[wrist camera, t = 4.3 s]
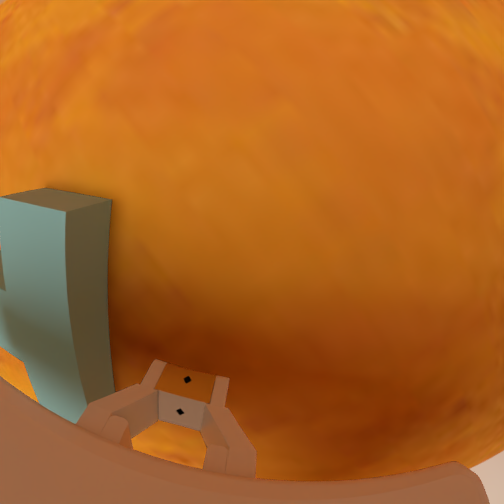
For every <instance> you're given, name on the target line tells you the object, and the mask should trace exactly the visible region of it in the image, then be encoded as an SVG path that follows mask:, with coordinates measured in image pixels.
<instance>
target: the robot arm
mask: <svg viewBox="0 0 504 504" xmlns="http://www.w3.org/2000/svg"><path fill="white" fill-rule="evenodd" d="M215 379H216V380H215ZM229 380H230V379H229V378H228V377H223V376H218V375H217V376H216V375H213V374H209V373H204V372H200V371H196V370H192V369H188V368H185V367H181V366H178V365H175V364H171V363H167V362H164V361H161V360H158V359H155V360H154V361H153V362H152V364H151V366H150V368H149V369H148V371H147V373H146V375H145V377H144V378H143V380H142V382H141V384H137V383H136V384H134V385H132V386H130V387H127V388H125V389H123V390H120V391H118V392H116V393H113V394H111V395H108V396H106V397H103V398H101V399H98V400H96V401H93V402H91V403H89V405H88V406H87V408H86V409H85V411H84V412H83V414H82V415H81V417H80V418H79V420H78V421H77V423H76V424H74V423H72V422H70V421H68V420H67V419H65V418H63V417H61V416H59V415H58V414H56V413H54V412H52V411H51V410H49V409H47V408H46V407H44V406H42V405H41V404H39V403H38V402H36V401H34V400H33V399H31V398H30V397H28V396H27V395H25V394H24V393H22V392H21V391H19V390H18V389H17V388H15V387H14V386H12V385H11V384H10V383H8V382H7V381H6V380H4V379H3V378H2V377H1V376H0V504H490V503H489V500H488V497H487V494H486V492H485V489H484V486H483V484H482V482H481V480H480V478H479V477H478V475H476V474H475V473H474V472H472V471H471V470H470V469H468V468H467V467H465V466H464V465H462V464H460V463H458V462H456V461H451V462H447V463H443V464H440V465H436V466H432V467H428V468H424V469H420V470H415V471H410V472H405V473H400V474H394V475H388V476H381V477H374V478H365V479H354V480H339V481H286V480H271V479H260V478H255V474H256V455H257V451H256V449H255V448H254V447H253V445H252V444H251V442H250V441H249V439H248V438H247V436H246V435H245V433H244V432H243V430H242V429H241V427H240V426H239V424H238V422H237V421H236V419H235V418H234V416H233V415H232V413H231V411H230V410H229V408H225V403H226V397H227V391H228V386H229ZM158 420H161V421H165V422H169V423H172V424H176V425H180V426H183V427H187V428H191V429H194V430H198V431H200V433H201V435H202V437H203V440H204V442H205V444H206V446H207V452H206V456H205V461H204V465H203V469H198V468H194V467H190V466H186V465H182V464H178V463H174V462H171V461H167V460H164V459H160V458H157V457H154V456H151V455H148V454H145V453H142V452H139V451H136V450H134V449H133V446H132V441H131V438H133V437H134V436H136V435H137V434H139V433H140V432H142V431H143V430H145V429H146V428H148V427H149V426H151V425H152V424H154V423H155V422H157V421H158Z"/></svg>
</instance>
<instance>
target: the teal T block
mask: <svg viewBox="0 0 504 504" xmlns="http://www.w3.org/2000/svg"><path fill="white" fill-rule="evenodd" d="M111 206H112V199H106V198H101V197H95V196H90V195H84V194H79V193H73V192H67V191H61V190H55V189H49V188H42V189H36V190H31V191H25V192H20V193H16V194H11V195H6V196H2V197H0V245H1V250H0V346H1V347H2V348H3V349H5V350H6V351H8V352H9V353H11V354H12V355H13V356H15V357H16V358H18V359H19V360H21V361H23V362H24V364H25V367H26V370H27V373H28V376H29V379H30V381H31V384H32V386H33V389H34V391H35V394H36V396H37V399H38V401H39V403H40V404H41V405H42V406H44V407H46V408H47V409H49V410H51V411H52V412H54V413H56V414H58V415H59V416H61V417H63V418H65V419H67V420H68V421H70V422H72V423H74V424H76V423H77V421H78V420H79V418H80V417H81V415H82V414H83V412H84V411H85V409H86V408H87V406H88V405H89V403H91V402H93V401H96V400H98V399H101V398H103V397H106V396H108V395H111V394H113V393H116V392H115V385H114V378H113V370H112V361H111V350H110V338H109V322H108V245H109V229H110V216H111Z"/></svg>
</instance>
